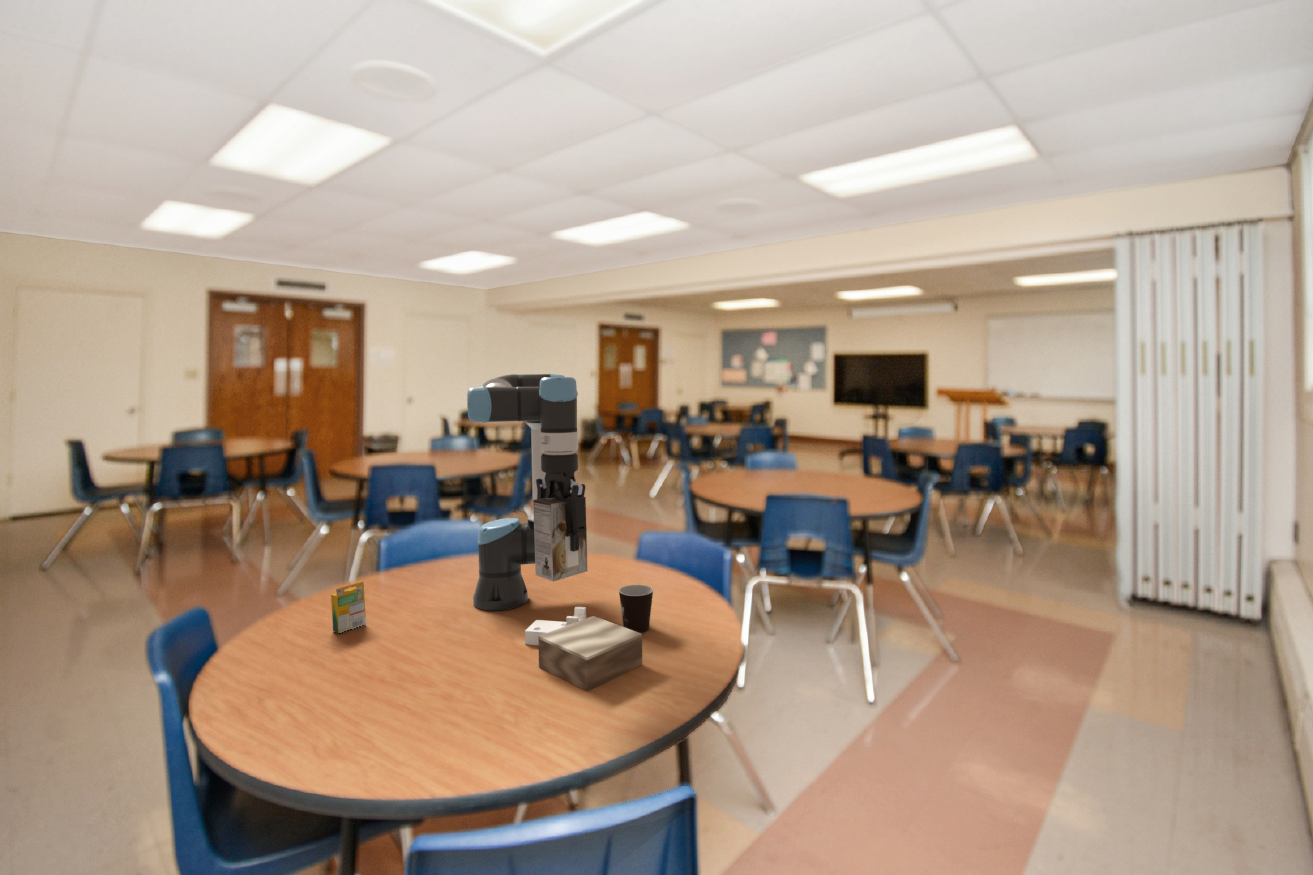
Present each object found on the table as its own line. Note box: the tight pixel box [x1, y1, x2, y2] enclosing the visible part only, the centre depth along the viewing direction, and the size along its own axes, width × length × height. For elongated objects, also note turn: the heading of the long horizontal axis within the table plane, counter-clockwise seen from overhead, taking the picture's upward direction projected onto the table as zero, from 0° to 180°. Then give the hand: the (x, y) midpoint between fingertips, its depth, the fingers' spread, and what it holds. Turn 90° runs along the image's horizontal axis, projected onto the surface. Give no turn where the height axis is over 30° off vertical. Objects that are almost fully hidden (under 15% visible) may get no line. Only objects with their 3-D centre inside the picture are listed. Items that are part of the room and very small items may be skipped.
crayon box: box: [330, 581, 367, 634], centre depth 158 cm, size 7×3×12 cm, turn 145°
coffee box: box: [532, 496, 588, 582], centre depth 129 cm, size 9×6×16 cm
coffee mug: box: [618, 584, 654, 634], centre depth 158 cm, size 12×9×10 cm
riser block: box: [537, 615, 643, 692], centre depth 136 cm, size 16×16×7 cm
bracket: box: [524, 606, 587, 646], centre depth 150 cm, size 13×7×8 cm, turn 79°
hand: (561, 562), depth 129 cm, fingers closed on coffee box, 6 cm apart
